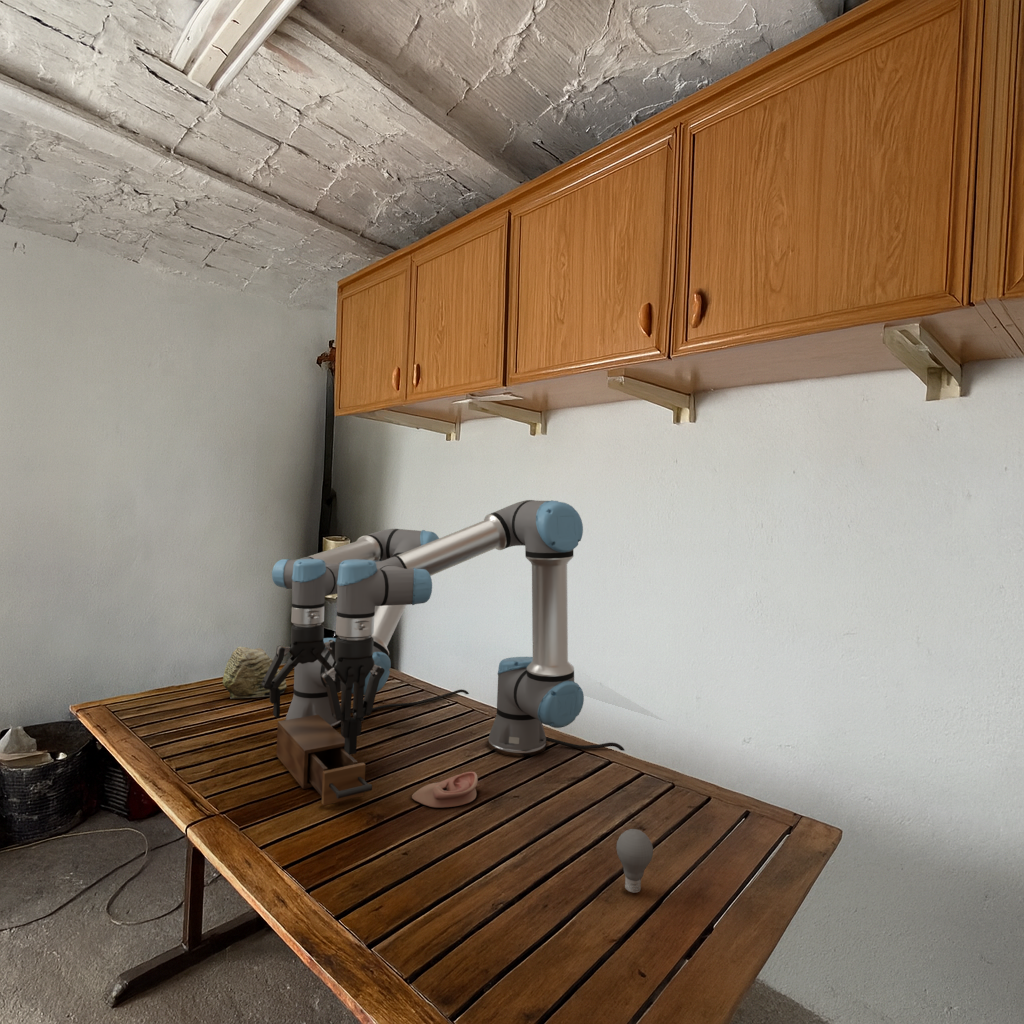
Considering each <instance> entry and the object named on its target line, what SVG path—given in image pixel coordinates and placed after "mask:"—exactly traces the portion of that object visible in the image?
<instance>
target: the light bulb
mask: <svg viewBox="0 0 1024 1024" xmlns="http://www.w3.org/2000/svg"><path fill="white" fill-rule="evenodd" d="M615 849H616V854H617V857H618V859H619V861H620V863H621V865H622V867H623V873H624V874H623V875H624V876H625V878H624V888H625V890H627V891H628V892H630V893H634V894H635V893H639V892H640V891H641V889H642V887H641V886H642V879H643V877H644V875H645V871H646V868H647V867H648V866H649V864H650V863H651V861H652V859H653V855H654V847H653V843H652V841H651V838H649V836H648V835H647V834H646V833H645V832H643V831H642V830H641V829H636V828H629V829H627V830H625V831H623V832H622V833H621V834H620V835H619V837H618V839H617V841H616V847H615Z"/></svg>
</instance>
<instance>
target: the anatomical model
mask: <svg viewBox="0 0 1024 1024" xmlns="http://www.w3.org/2000/svg"><path fill="white" fill-rule="evenodd" d="M478 777H479V776H478V775H477V772H475V771H466V772H463V773H462V772H461V773H459V774H456V775H454V776H451V777H448V778H445V779H444V780H441V781H438V782H433V783H429V784H426V785H424V786H421V788H419V789H417V790H416V791H414V792H413V794H412V795H411V799H412V800H414V801H415V802H417V803H419V804H421V805H423V806H427V807H428V808H429V807H430V808H435V809H439V808H452V807H459V806H464V805H466V804H469V803H471V802H473V801H474V800H475V799H476V798H477V795H478V794H477V789H476V787H477V786H478V783H479V782H478V781H479V778H478Z"/></svg>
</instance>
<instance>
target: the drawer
mask: <svg viewBox="0 0 1024 1024" xmlns="http://www.w3.org/2000/svg"><path fill="white" fill-rule="evenodd" d="M307 780H308V781H309V782H310V783H311V784H312V786H313V787H312V788H314V789H315V791H316V792H317V793H318V794H319V795H320V796H321V804H322V806H327V805H332V804H335V803H340V802H343V801H348V800H352V799H355V798H359V797H363V796H365V793H367V792H370V791H373V785H372V783H368V782H367V781H366V763H365V762H359V763H358V760H357V759H355V758H354V757H353V756H352V754H351V755H349V754H348V753H347V752H346V751H345V750H344V749H343V748H342V747H339V748H334V749H329V750H324V751H319V752H314V753H309V754H308V773H307Z"/></svg>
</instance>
